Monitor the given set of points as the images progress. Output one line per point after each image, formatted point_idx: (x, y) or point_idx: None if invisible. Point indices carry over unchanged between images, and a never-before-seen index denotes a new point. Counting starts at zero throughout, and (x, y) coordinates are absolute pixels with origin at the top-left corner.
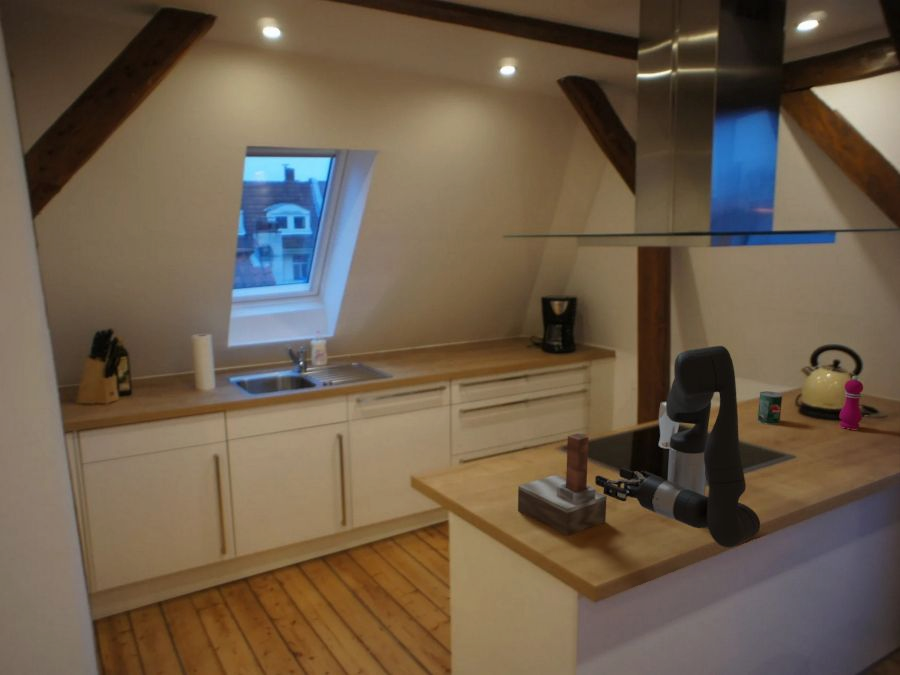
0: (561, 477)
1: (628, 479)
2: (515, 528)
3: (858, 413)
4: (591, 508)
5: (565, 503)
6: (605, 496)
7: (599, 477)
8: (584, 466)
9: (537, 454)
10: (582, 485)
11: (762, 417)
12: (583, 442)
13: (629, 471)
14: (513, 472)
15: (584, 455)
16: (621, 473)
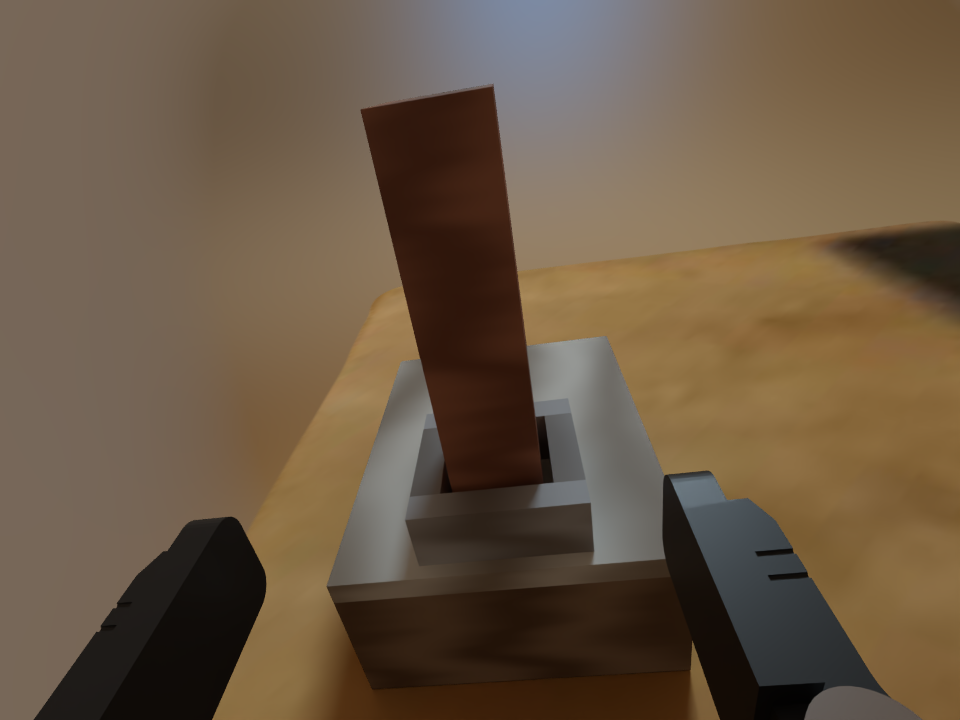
0: (605, 353)
1: (717, 700)
2: (293, 528)
3: None
4: (550, 604)
5: (389, 529)
6: None
7: (163, 567)
8: (494, 341)
9: (738, 256)
10: (501, 457)
11: None
12: (436, 140)
13: (732, 619)
14: (603, 301)
15: (475, 258)
16: (672, 540)
